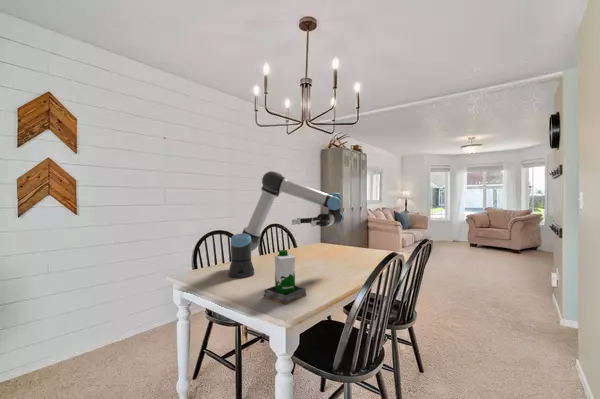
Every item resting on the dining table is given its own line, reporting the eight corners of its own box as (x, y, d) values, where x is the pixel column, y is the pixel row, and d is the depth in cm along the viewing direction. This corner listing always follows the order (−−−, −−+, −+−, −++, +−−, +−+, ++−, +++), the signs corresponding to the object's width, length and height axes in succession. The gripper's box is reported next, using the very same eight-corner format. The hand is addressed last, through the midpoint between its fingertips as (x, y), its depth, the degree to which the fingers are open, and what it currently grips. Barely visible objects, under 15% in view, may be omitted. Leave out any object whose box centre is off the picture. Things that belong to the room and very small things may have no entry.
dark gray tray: (263, 297, 137) (263, 289, 137) (284, 289, 147) (284, 282, 147) (285, 304, 128) (285, 296, 128) (306, 295, 138) (306, 288, 138)
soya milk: (290, 289, 143) (290, 249, 143) (297, 296, 135) (297, 252, 134) (273, 292, 140) (272, 250, 139) (279, 298, 132) (279, 254, 131)
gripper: (343, 227, 165) (320, 232, 149) (308, 224, 181) (284, 228, 165) (343, 214, 165) (320, 217, 149) (308, 212, 181) (284, 214, 165)
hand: (301, 223), depth 157 cm, fingers open, 13 cm apart
